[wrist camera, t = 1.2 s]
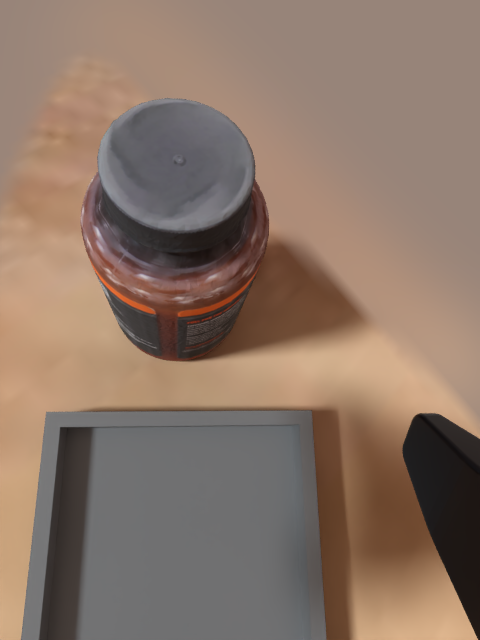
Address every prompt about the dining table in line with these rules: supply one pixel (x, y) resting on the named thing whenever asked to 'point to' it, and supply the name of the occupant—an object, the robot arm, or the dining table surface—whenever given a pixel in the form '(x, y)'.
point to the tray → (176, 528)
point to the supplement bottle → (175, 225)
